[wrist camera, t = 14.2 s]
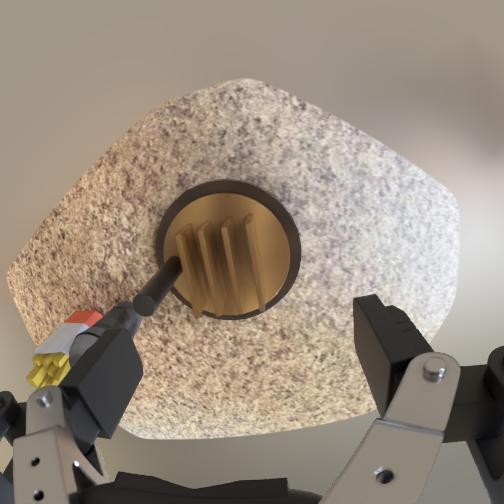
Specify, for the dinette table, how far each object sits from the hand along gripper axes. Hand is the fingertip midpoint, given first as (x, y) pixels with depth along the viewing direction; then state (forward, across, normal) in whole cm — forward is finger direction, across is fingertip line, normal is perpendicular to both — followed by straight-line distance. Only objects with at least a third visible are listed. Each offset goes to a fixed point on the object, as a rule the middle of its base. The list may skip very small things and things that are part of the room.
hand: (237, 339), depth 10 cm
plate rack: (+28, +5, +6) cm, 29 cm away
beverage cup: (+30, +23, +13) cm, 40 cm away
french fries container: (+30, +29, +16) cm, 45 cm away
